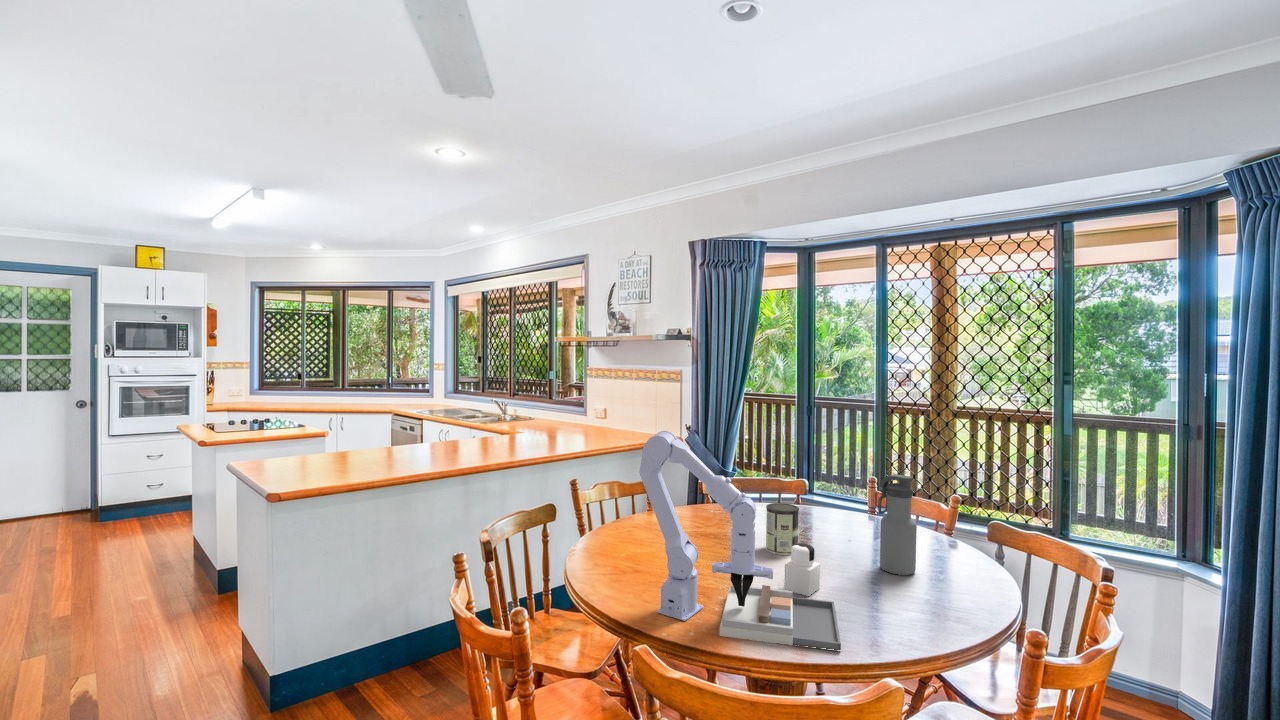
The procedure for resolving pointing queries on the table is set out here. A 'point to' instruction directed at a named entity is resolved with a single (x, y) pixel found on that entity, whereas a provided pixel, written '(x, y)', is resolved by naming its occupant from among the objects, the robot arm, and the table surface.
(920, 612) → the table surface
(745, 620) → the white rimmed panel
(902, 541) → the water bottle
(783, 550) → the coffee can
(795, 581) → the medicine bottle
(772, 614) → the tile
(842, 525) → the table surface
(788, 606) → the tile
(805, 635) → the box
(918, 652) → the table surface
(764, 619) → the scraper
